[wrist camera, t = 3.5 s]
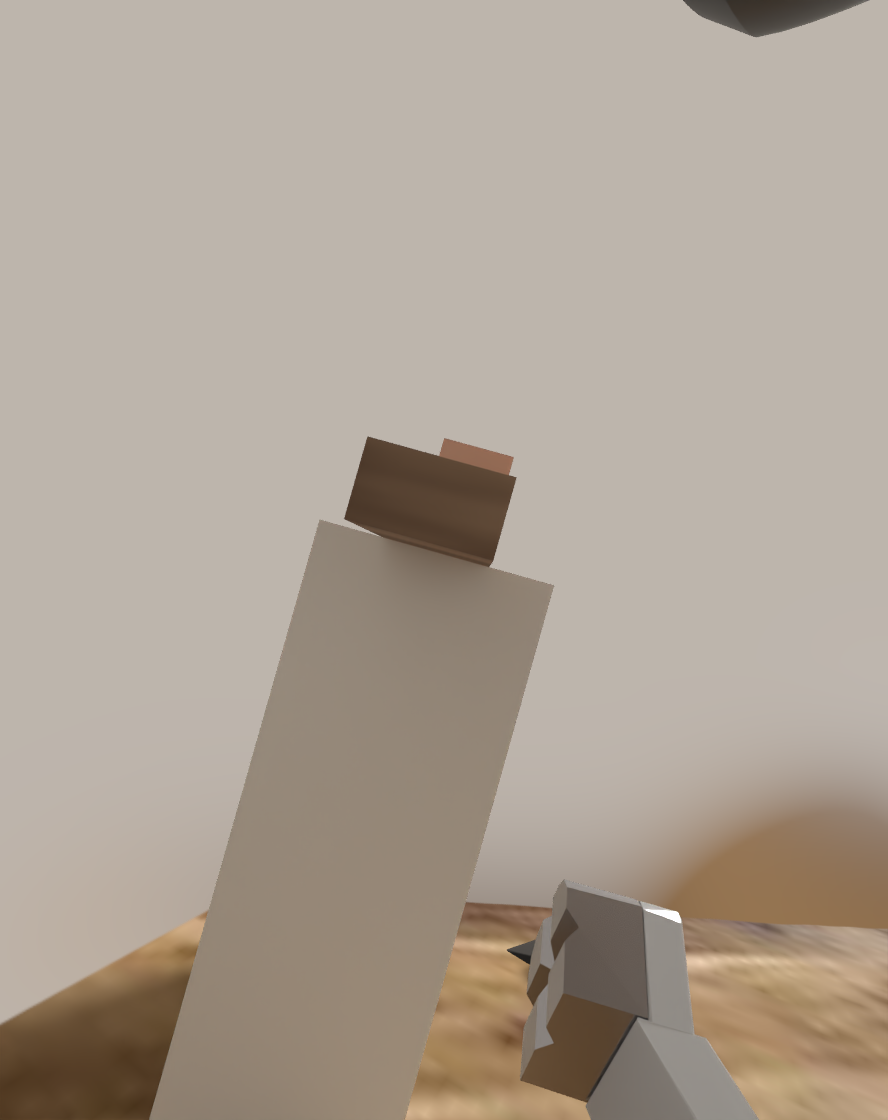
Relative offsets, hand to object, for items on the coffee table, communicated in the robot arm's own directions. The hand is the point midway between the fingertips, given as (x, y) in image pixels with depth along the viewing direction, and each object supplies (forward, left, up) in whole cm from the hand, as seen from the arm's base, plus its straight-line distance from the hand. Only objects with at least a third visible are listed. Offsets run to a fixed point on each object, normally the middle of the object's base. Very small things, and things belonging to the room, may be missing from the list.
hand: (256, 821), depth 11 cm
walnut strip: (-11, -24, +5) cm, 26 cm away
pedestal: (-13, -28, -21) cm, 38 cm away
